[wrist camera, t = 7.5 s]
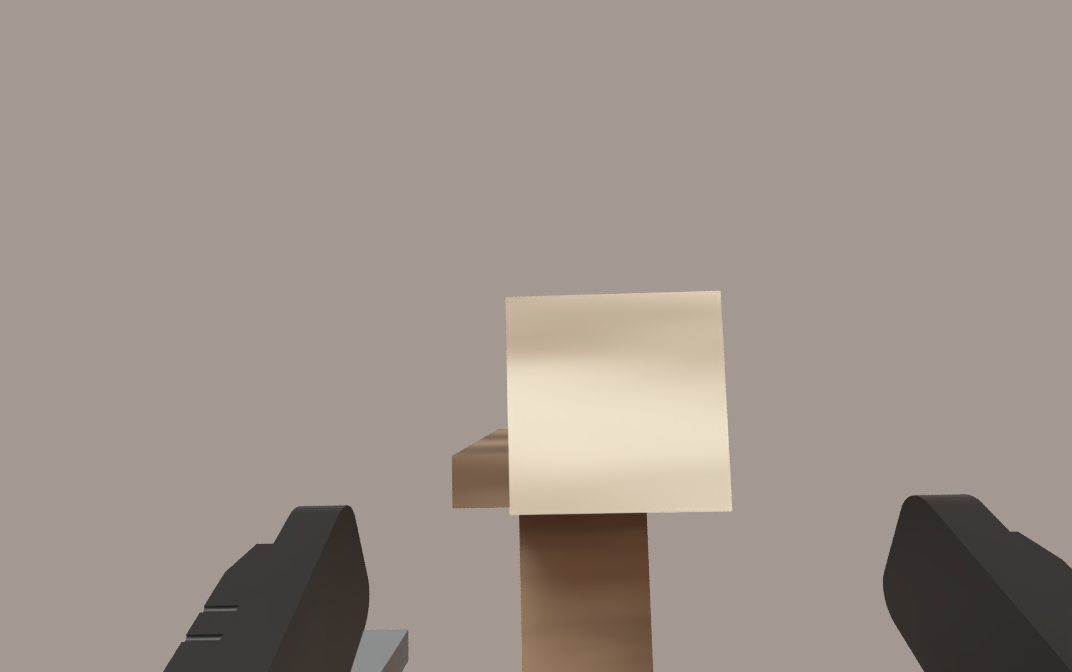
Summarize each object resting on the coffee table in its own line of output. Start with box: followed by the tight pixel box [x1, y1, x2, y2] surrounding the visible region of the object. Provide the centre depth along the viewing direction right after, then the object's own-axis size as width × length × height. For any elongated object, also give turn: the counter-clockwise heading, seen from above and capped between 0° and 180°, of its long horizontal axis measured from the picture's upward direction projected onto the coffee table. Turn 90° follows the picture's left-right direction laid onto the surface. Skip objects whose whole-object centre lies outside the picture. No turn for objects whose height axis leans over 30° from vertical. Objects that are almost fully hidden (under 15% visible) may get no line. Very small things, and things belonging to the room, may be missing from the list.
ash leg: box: [506, 291, 732, 515], centre depth 21 cm, size 25×3×3 cm, turn 178°
